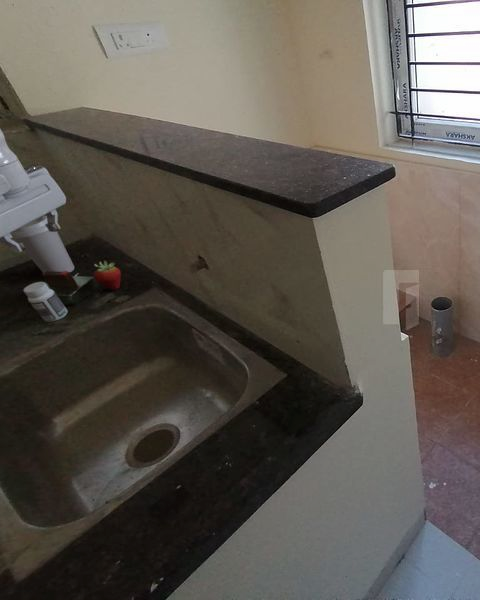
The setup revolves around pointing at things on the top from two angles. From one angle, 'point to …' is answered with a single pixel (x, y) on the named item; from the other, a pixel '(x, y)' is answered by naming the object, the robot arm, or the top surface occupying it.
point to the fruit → (108, 275)
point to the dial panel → (76, 290)
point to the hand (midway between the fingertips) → (38, 240)
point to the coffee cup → (43, 246)
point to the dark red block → (59, 279)
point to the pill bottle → (45, 302)
